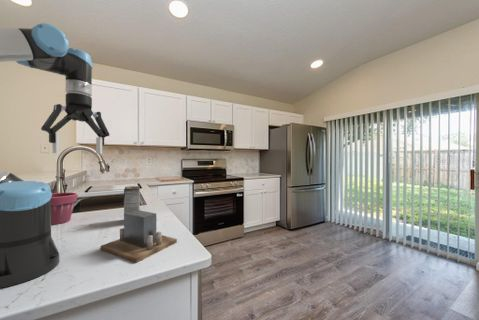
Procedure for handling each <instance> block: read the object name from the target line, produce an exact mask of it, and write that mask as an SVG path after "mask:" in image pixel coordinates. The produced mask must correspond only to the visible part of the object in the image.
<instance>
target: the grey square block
mask: <svg viewBox="0 0 479 320" xmlns="http://www.w3.org/2000/svg"><path fill="white" fill-rule="evenodd" d="M123 228H124V242H125V243H129V244H132V245H135V246H138V247H141V248H145V247H147V236H149V235H152V236H153V244H154V243H156V233H157V213H155V212H150V211H145V210H141V209H140V210H135V211H131V212H127V213H124V212H123Z"/></svg>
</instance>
